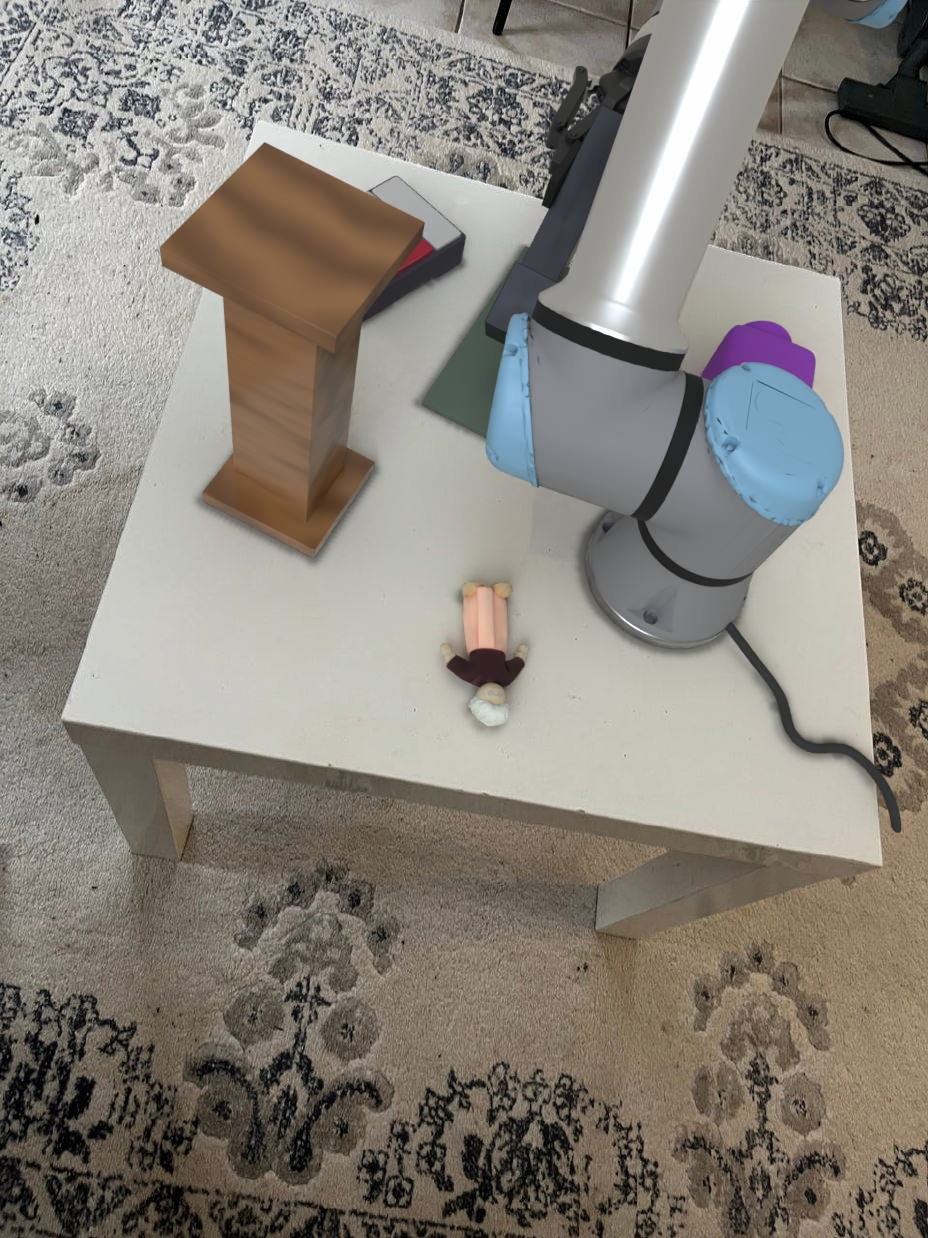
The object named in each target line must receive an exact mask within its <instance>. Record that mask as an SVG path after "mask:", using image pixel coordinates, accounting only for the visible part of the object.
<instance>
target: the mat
mask: <svg viewBox="0 0 928 1238" xmlns="http://www.w3.org/2000/svg"><path fill="white" fill-rule="evenodd" d="M529 247H530V246H527V245H525V246H524V248H523V249H522V251H521V252H520V254H519V255H518V257H517V258H516V260H515V261H514V263H515V262H518V263H520V264H521V263H522V261H523V259H524V257H525V255H526V253H527V251H528V249H529ZM514 263H513V264H512V265H511V266H510V269H508V271H507V273H506V275H505V276H504V278H503V279H502V281H501V282H500V284H499V285H498V287H497V288H496V290H495V291H494V293H493V294H492V296H491V297H490V299H489V300H488V301H487V303H486V305H485V306H484V308H483V309H482V311H481V312H480V313H479V315H478V317H477V318H476V319H475V320H474V323H473V324H472V326H471V327H470V329H469V330H468V332H467V333H466V335H465V336H464V337H463V339H462V340H461V342H460V344H458V347H457V348H456V350H455V351H454V352H453V354H452V356H451V357H450V359H449V360H448V361H447V363H446V365H445V366H444V367H443V369H442V371H441V372H440V374H439V375H438V377H437V378H436V379H435V381H434V383H433V384H432V386H431V387H430V389H429V390H428V392H427V393H426V394H425V396H424V397H423V399H422V400H421V406H422V407H424V408H427V409H429V410H431V411H433V412H435V413H436V414H439V415H441V416H443V417H445V418H447V419H448V420H450V421H453V422H455V423H457V424H458V425H460V426H462V427H464V428H466V429H468V430H470V431H472V432H474V433H477V434H478V435H480V436H482V437H484V438H486V437H487V430H488V425H489V419H490V413H491V408H492V402H493V397H494V392H495V387H496V382H497V377H498V372H499V367H500V363H501V359H502V354H503V349H504V344H502V343H500V342H498V341H496V340H494V339H492V338H490V337H488V336H486V335H485V320H486V318H487V316H488V314H489V312H490V310H491V308H492V306H493V304H494V302H495V300H496V298H497V296H498V294H499V292H500V290H501V288H502V286H503V284H504V282H505V280H506V278H507V277H508V275H509V273H510V271H511V269H512V267H513V265H514ZM569 270H570V267H569V266H568V268H567V270H566V272H565V274H564V276H563V278H562V280H563V279H564V278H565V277H566V276H567V275H568V273H569ZM562 280H561V281H562Z"/></svg>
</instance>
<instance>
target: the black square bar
mask: <svg viewBox="0 0 928 1238" xmlns="http://www.w3.org/2000/svg"><path fill="white" fill-rule="evenodd" d="M622 118H623V115H622V114H620V113H618V112H615V111H613V110H611V109H609V108H607V107H605V106H603V105H602V106H601V108H600V110H599V112H598V114H597V116H596V118H595V120H594V121H593V123H592V125H591V127H590V129H589V131H588V133H587V135H586V137H585V139H584V141H583V143H582V145H581V147H580V149H579V151H578V153H577V155H576V157H575V159H574V161H573V163H572V165H571V167H570V169H569V171H568V173H567V174H566V176H565V178H564V180H563V182H562V184H561V186H560V188H559V190H558V192H557V194H556V196H555V198H554V200H553V202H552V204H551V206H550V208H549V209H548V210H547V211H546V214H545V215H544V218H543V219H542V222H541V223H540V225H539V227H538V229H537V232H535V235H534V237H533V239H532V241H531V243H530V244H529V246H528V247H529V249H528V251H527V253H526V255H525V257H524V259H523V261H522V263H521V264H520V263H518V262H515V261H514V262H513V264H514V265H513V264H512V266H513V267H512V266H511V267H512V269H511V268H510V269H511V271H510V273H509V275H508V277H507V278H506V280H505V282H504V284H503V286H502V288H501V290H500V292H499V294H498V296H497V298H496V300H495V302H494V304H493V306H492V308H491V310H490V312H489V314H488V316H487V318H486V320H485V335H486V336H488V337H490V338H492V339H494V340H496V341H498V342H500V343H502V344H504V345H505V339H506V334H507V330H508V326H509V322H510V319H511V317H512V316H513V315H514V314H522V313H527V314H529V316H530V317H531V316H532V314H533V311H534V308H535V305H536V302H537V299H538V296H539V293H540V292H542V291H544V290H546V289H548V288H550V287H552V286H553V285H555V284H557V283H559V282H561V280H562V278H563V276H564V274H565V272H566V270H567V268H568V267H569V266H570V265H571V263H572V261H573V259H574V256H575V253H576V250H577V247H578V244H579V241H580V239H581V236H582V233H583V230H584V227H585V224H586V221H587V218H588V216H589V213H590V210H591V207H592V204H593V201H594V198H595V196H596V193H597V190H598V187H599V184H600V181H601V178H602V175H603V173H604V170H605V167H606V164H607V161H608V158H609V155H610V153H611V150H612V147H613V144H614V141H615V138H616V135H617V132H618V130H619V127H620V124H621V121H622Z"/></svg>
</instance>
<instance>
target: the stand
mask: <svg viewBox="0 0 928 1238" xmlns="http://www.w3.org/2000/svg"><path fill="white" fill-rule="evenodd" d="M424 225H425V222H424V221H422V220H420V219H418V218H416V217H414V216H412V215H410V214H408V213H406V212H404V211H402V210H400V209H398V208H396V207H394V206H392V205H390V204H388V203H386V202H384V201H382V200H380V199H378V198H376V197H374V196H372V195H370V194H368V193H366V191H364V190H362V189H360V188H357V187H355V186H354V185H351V184H350V183H347V182H345V181H344V180H342V179H340V178H338V177H336V176H333V175H332V174H330V173H328V172H326V171H323V170H322V169H320V168H318V167H316V166H314V165H311V164H310V163H308V162H306V161H304V160H301V159H299V158H298V157H296V156H294V155H291V154H290V153H288V152H286V151H284V150H281V149H280V148H278V147H275V146H273V144H270V143H267V142H266V141H265V142H263V143H262V144H260V146H259V147H257V148H256V150H255V151H253V152H252V154H251V155H249V156H248V158H247V159H245V160H244V161H243V163H242V164H240V166H239V167H238V168H237V169H236V170H235V171H233V172H232V174H231V175H230V176H228V177H227V179H226V180H225V181H224V182H223V183H222V184H221V185H220V186H219V187H218V188H217V189H215V191H214V192H213V193H212V194H211V195H210V196H209V197H208V198H206V200H205V201H204V202H203V203H202V204H201V205H200V206H199V207H198V208H197V209H196V210H195V211H193V213H192V214H191V215H190V216H189V217H188V218H187V219H186V220H185V221H184V222H183V223H182V224H180V226H179V227H178V228H177V229H175V231H174V232H173V233H172V234H170V236H169V237H168V238H167V239H165V241H164V242H163V243H162V244H161V245H160V246H159V254H160V261H161V266H162V267H163V268H165V269H167V270H169V271H170V272H173V273H175V274H176V275H179V276H181V277H182V278H185V279H187V280H188V281H190V282H192V283H194V284H196V285H198V286H200V287H203V288H204V289H206V290H208V291H210V292H212V293H214V294H216V295H218V296H220V297H222V304H223V305H222V306H223V321H224V333H225V335H224V336H225V350H226V365H227V378H228V379H227V380H228V381H227V382H228V394H229V409H230V423H231V424H230V426H231V440H232V454H231V455H230V456H229V457H228V459H227V460H226V461H225V462H224V464H223V465H222V466H221V468H220V469H219V470H218V471H217V473H216V474H215V475H214V477H212V479H211V480H210V482H209V483H208V485H207V486H206V487H205V488H204V489H203V490H202V492H201V494H202V501H203V503H205V504H207V505H209V506H211V507H213V508H215V509H216V510H219V511H221V512H223V513H225V514H226V515H229V516H230V517H232V518H234V519H236V520H238V521H240V522H242V523H244V524H246V525H248V526H250V527H251V528H253V529H256V530H257V531H259V532H261V533H263V534H265V535H267V536H269V537H271V538H272V539H274V540H277V541H279V542H280V543H283V544H284V545H286V546H289V547H290V548H292V549H294V550H296V551H297V552H300V553H301V554H304V555H306V556H308V557H309V558H312V559H313V560H314V559H316V557H317V556H318V554H319V552H320V551H321V549H322V548H323V546H324V545H325V543H326V542H327V540H328V539H329V537H331V534H332V533H333V532H334V530H335V529H336V527H337V525H338V524H339V522H340V520H341V519H342V518H343V517H344V515H345V514H346V512H347V511H348V510H349V508H350V506H351V504H352V503H353V502H354V500H355V499H356V497H357V496H358V494H359V493H360V491H361V489H362V488H363V487H364V485H365V484H366V482H367V481H368V479H369V478H370V476H371V475H372V474H373V472H374V466H375V461H374V460H373V459H372V458H371V459H370V458H368V457H367V456H364V455H363V454H360V453H359V452H357V451H355V450H353V449H351V448H349V447H348V441H349V432H350V424H351V415H352V409H353V408H352V407H353V399H354V392H355V390H354V389H355V383H356V373H357V368H358V367H357V366H358V359H359V349H360V340H361V334H362V333H361V332H362V326H363V321H362V317H363V316H364V315H365V314H366V312H367V311H368V310H369V308H370V307H371V306H372V304H373V303H374V302H375V301H376V299H377V298H378V297H379V295H380V294H381V293H382V291H383V290H384V289H385V287H386V286H387V285H388V284H389V282H390V281H391V280H392V278H393V277H394V276H395V274H396V273H397V272H398V270H399V269H400V268H401V267H402V265H403V264H404V263H405V261H406V260H407V259H408V257H409V256H410V255H411V254H412V252H413V251H414V250H415V248H416V247H417V246H418V244H419V243H420V242H421V240H422V236H423V231H424Z"/></svg>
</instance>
